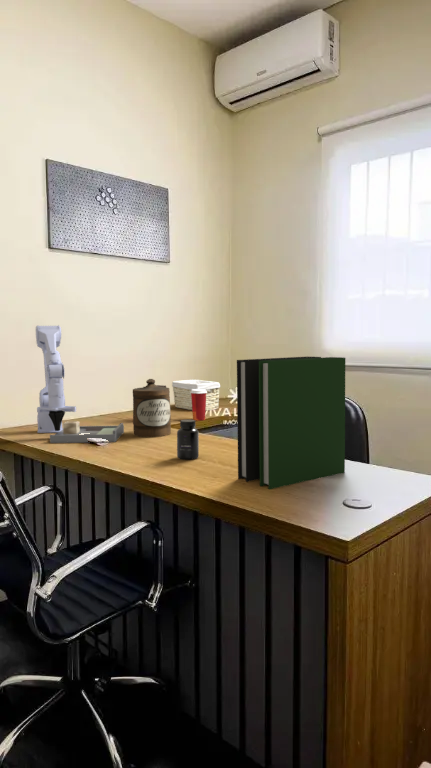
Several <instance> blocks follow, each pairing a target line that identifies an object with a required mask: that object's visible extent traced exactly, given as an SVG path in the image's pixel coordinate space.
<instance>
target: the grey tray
mask: <svg viewBox="0 0 431 768" xmlns="http://www.w3.org/2000/svg"><path fill="white" fill-rule="evenodd" d="M81 433H90V434H84V435H79V434H81ZM124 433H125V428H124V422H121V423H119V424H118V425H80V432H78V433H77V434H64V433H63V430H61V431H60V432H55V433H54V434H50V435H49V443H50V444H71V443H73V444H75V443H76V444H77V443H81V444H82V443H89V442H88V440H87V438H102V439H106V440H108V441H109V442H108V443H116V441H117V440H119V439H120V437H122V435H124Z"/></svg>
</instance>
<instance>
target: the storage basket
mask: <svg viewBox="0 0 431 768" xmlns="http://www.w3.org/2000/svg"><path fill="white" fill-rule="evenodd" d="M171 387H172V392H173V400H174V407H175V408H177V409H182V410H188V411H192V399H191V393H190V392H191V390H193V389H206V392H207V393H206V411H213V410H218V409H219V404H220V403H219V402H220V400H219V399H220V388H221V384H220V382H218V381H210V380H205V379H204V380H201V379H186V380H184V379H183V380H173V381H172V383H171Z"/></svg>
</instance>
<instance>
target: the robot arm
mask: <svg viewBox="0 0 431 768" xmlns="http://www.w3.org/2000/svg"><path fill="white" fill-rule="evenodd" d="M35 339H36V341H35V343H36V345H37V348H40V349H41V351H42V354H43V365H44V367H43V368H44V378H45V379H44V380H45V381H44V382H45V386H44V387H43V388H41V390H40V391H39V393H38V394H39V397H38V399H39V406H37V408H36V411H37V412H36V413H37V417H36V418H37V434H38V433H39V434H41V433H42V434H44V433H46V434H47V433H49V434H50V433H51V434H52V433H53V434H56V433H58V432H60V431H61V430H63V419H64V416H65V414H66V413H67V412H69V413H71V412H72V413H75V412H77V406H76V405H75V406H74V405H73V406H71V405H69V406H68V405H66V396H65V392H64V390H65V388H64V387H65V386H64V379H65V376H66V375H65V374H66V373H65V367H64V366H65V365H64V364H63V362H62V359H61V352H60V351H58V350H57V348H58V347H60V344H61V340H62V327H61V326H60V325H59V324H58V325H36V326H35Z"/></svg>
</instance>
